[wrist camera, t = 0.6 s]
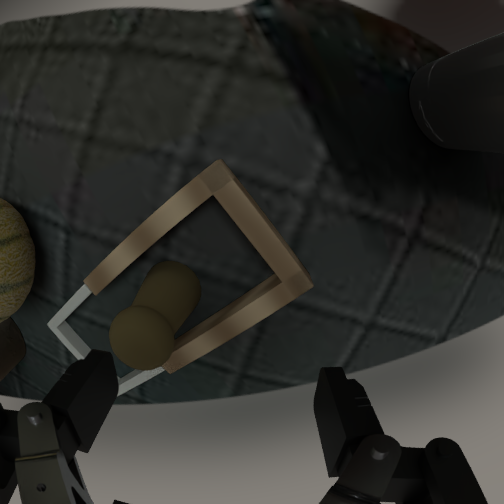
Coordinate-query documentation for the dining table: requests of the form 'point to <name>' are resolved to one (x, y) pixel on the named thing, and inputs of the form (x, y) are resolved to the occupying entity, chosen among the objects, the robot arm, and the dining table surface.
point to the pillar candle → (10, 346)
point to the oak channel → (255, 229)
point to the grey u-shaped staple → (82, 349)
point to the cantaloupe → (14, 260)
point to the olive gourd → (155, 316)
